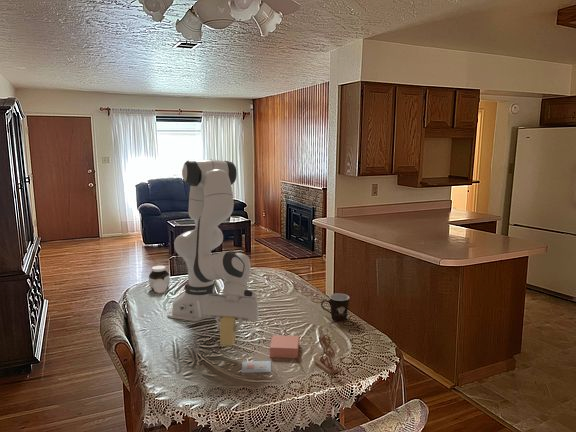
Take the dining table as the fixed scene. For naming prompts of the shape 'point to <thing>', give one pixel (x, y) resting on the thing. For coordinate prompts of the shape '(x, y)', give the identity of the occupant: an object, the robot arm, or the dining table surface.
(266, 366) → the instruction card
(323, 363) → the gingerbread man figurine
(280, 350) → the base brick
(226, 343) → the ochre brick
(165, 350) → the dining table surface
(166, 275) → the spread jar
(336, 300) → the coffee mug
